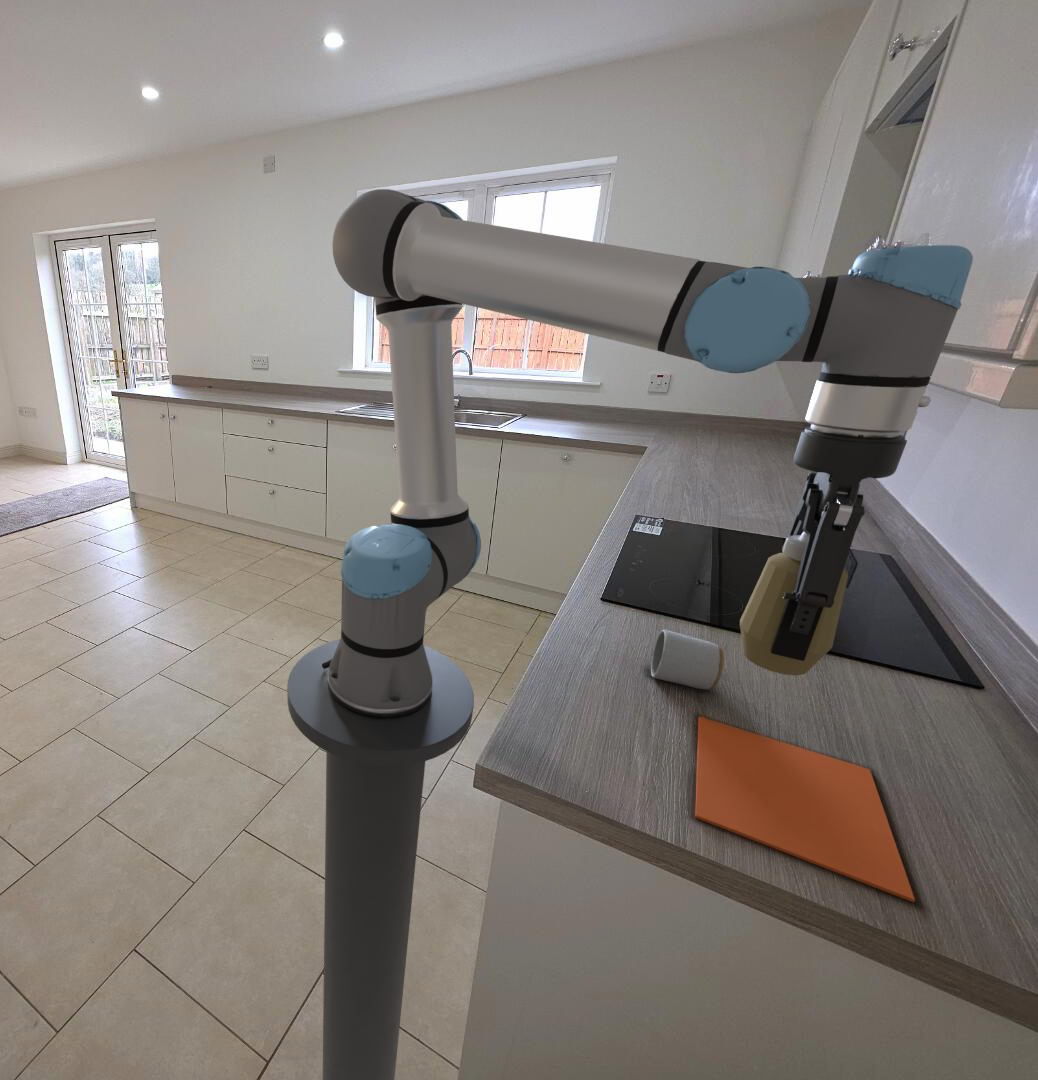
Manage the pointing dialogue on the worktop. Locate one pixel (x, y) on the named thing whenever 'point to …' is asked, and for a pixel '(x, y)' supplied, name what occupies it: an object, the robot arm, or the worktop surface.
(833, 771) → the napkin
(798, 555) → the squeeze bottle
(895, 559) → the worktop surface
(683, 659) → the ceramic mug
